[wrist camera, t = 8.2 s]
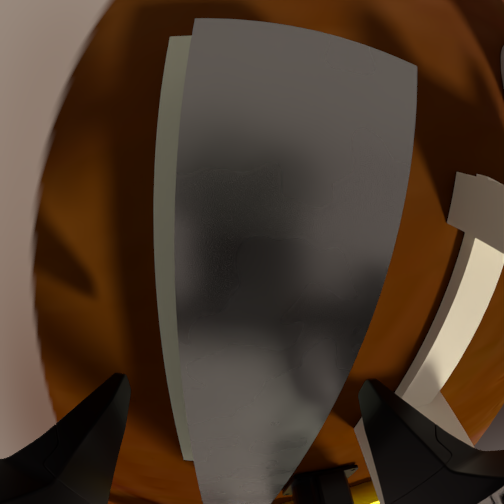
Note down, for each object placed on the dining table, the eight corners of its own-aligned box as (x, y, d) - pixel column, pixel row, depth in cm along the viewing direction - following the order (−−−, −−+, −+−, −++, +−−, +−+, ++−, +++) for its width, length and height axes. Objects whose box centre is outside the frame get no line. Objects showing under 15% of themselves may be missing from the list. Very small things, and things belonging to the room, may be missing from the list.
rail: (264, 455, 14) (270, 504, 11) (204, 453, 14) (203, 503, 10) (342, 93, 7) (417, 66, 3) (212, 75, 7) (194, 18, 3)
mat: (280, 453, 16) (281, 461, 15) (184, 451, 15) (183, 459, 14) (373, 73, 7) (383, 68, 7) (174, 44, 7) (169, 36, 6)
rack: (424, 412, 16) (460, 480, 9) (352, 430, 15) (382, 519, 8) (521, 196, 10) (615, 244, 2) (457, 165, 9) (609, 220, 1)
